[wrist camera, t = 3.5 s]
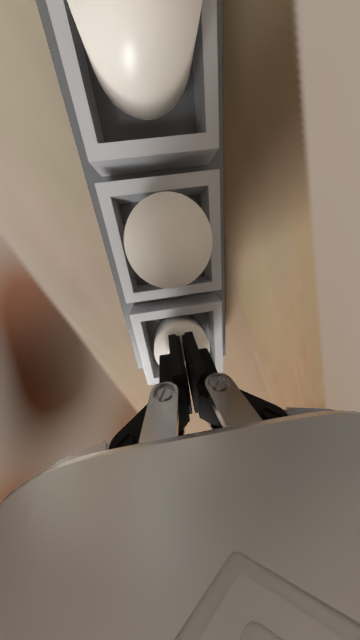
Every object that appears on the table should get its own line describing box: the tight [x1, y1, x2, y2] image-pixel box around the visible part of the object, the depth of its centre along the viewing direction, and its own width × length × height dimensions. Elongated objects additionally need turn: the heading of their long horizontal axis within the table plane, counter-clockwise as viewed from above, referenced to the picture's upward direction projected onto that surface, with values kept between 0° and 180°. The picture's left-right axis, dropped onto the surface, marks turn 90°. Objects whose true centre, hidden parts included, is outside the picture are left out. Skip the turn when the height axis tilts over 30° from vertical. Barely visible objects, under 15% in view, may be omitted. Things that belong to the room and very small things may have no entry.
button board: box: [36, 0, 225, 385], centre depth 11 cm, size 24×8×5 cm, turn 7°
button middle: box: [124, 191, 213, 289], centre depth 9 cm, size 4×4×2 cm
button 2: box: [67, 0, 202, 120], centre depth 6 cm, size 4×4×2 cm
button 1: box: [154, 315, 210, 366], centre depth 13 cm, size 4×4×2 cm
